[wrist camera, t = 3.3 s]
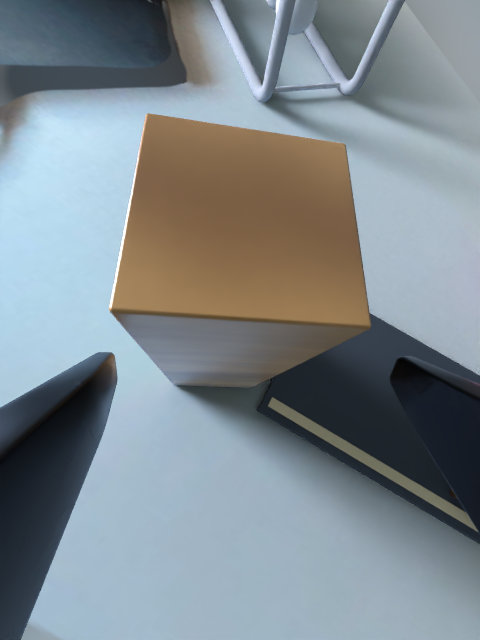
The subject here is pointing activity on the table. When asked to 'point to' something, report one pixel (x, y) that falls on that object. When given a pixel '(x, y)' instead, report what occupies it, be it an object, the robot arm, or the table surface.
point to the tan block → (238, 252)
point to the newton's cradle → (295, 17)
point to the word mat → (368, 416)
